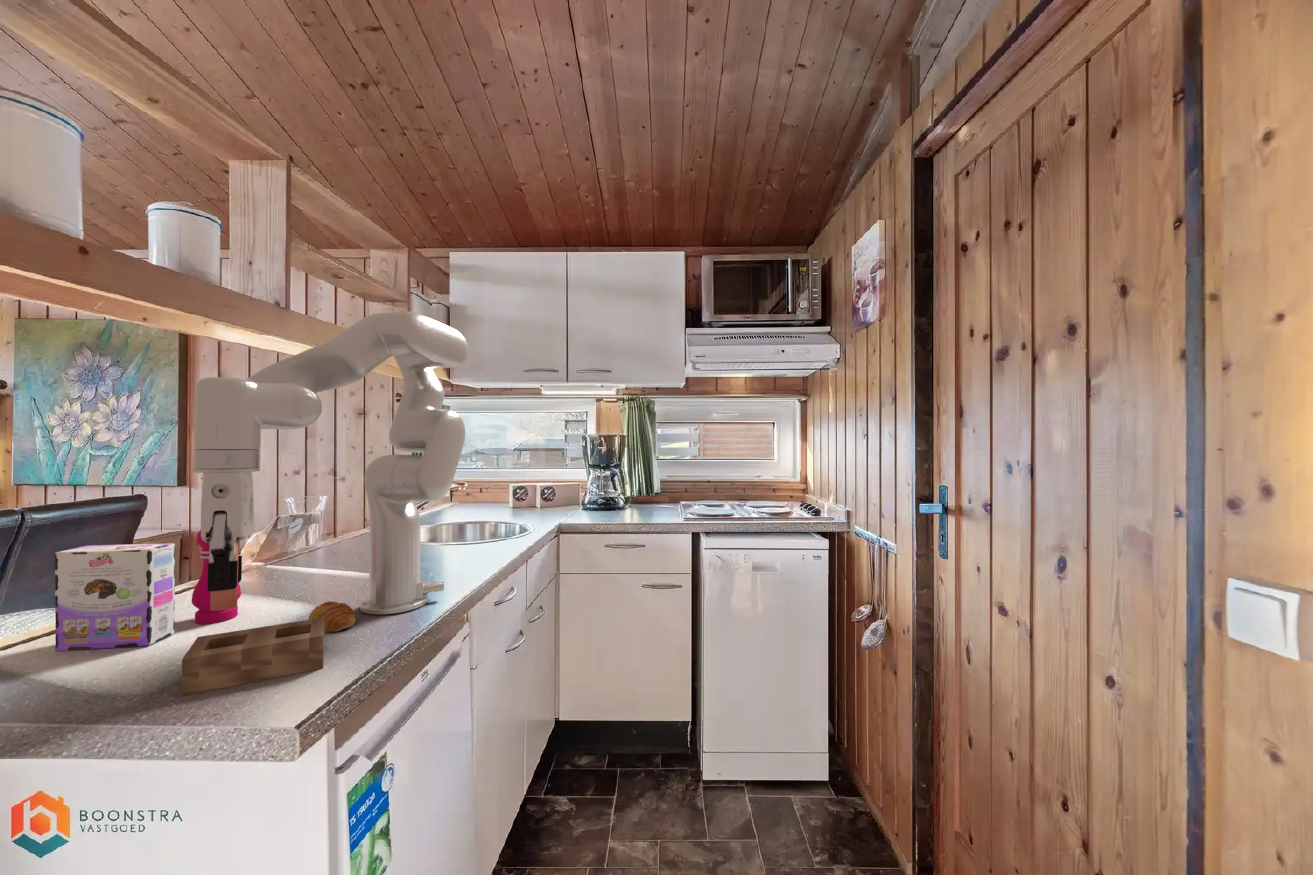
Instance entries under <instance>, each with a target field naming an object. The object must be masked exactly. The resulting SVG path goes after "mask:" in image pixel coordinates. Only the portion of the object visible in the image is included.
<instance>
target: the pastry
mask: <svg viewBox="0 0 1313 875" xmlns="http://www.w3.org/2000/svg"><path fill="white" fill-rule="evenodd" d="M324 617H325V633H331V632H336V633H337V632H339V631H342V630H344V629H349V628H353V626H354V625H355V623H356V614H355V611H354V609H352V607H351V606H350V605H349V604H346V603H345V602H339V603H338V602H337V601H326V602H325V601H324V602H323V603H321V604H320V605H318V606H315V608H313V610H311V612H310V614H309V615H308V620H311V619H318V618H324Z"/></svg>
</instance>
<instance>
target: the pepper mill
mask: <svg viewBox="0 0 1313 875" xmlns="http://www.w3.org/2000/svg"><path fill="white" fill-rule="evenodd" d="M196 543H197V546H200V548H201V549H200V551H199V553H200V555H199V558H200V559H202V570H201V575H200V577H199V579H198V580H197V583H196V584H195V587H194V589H193V591H192V595H191V604H192V605H193V606H194V607H195V608H197V611H195V612H194V623H196V624H197V625H198V624H199V625H208V624H209V625H210V624H217V623H222V622H226V621H229V620H232V619H234V618H236V617H237V616H238V614H239V612H238V611H239V608H238V607H239V606H238V605H237V606H236V607H234V608H231V609H227V610H220V611H212V610H210V604H211V592H210V591H208V563H209V549H210V542H208V543H207V542H204V541H203V540H202V538H201V529H200V530H199V531H198V532H197V534H196ZM241 589H242V588H241V585H240V582H239V583H238V595H237V601H239V599H240V598H241V596H242V590H241Z"/></svg>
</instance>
